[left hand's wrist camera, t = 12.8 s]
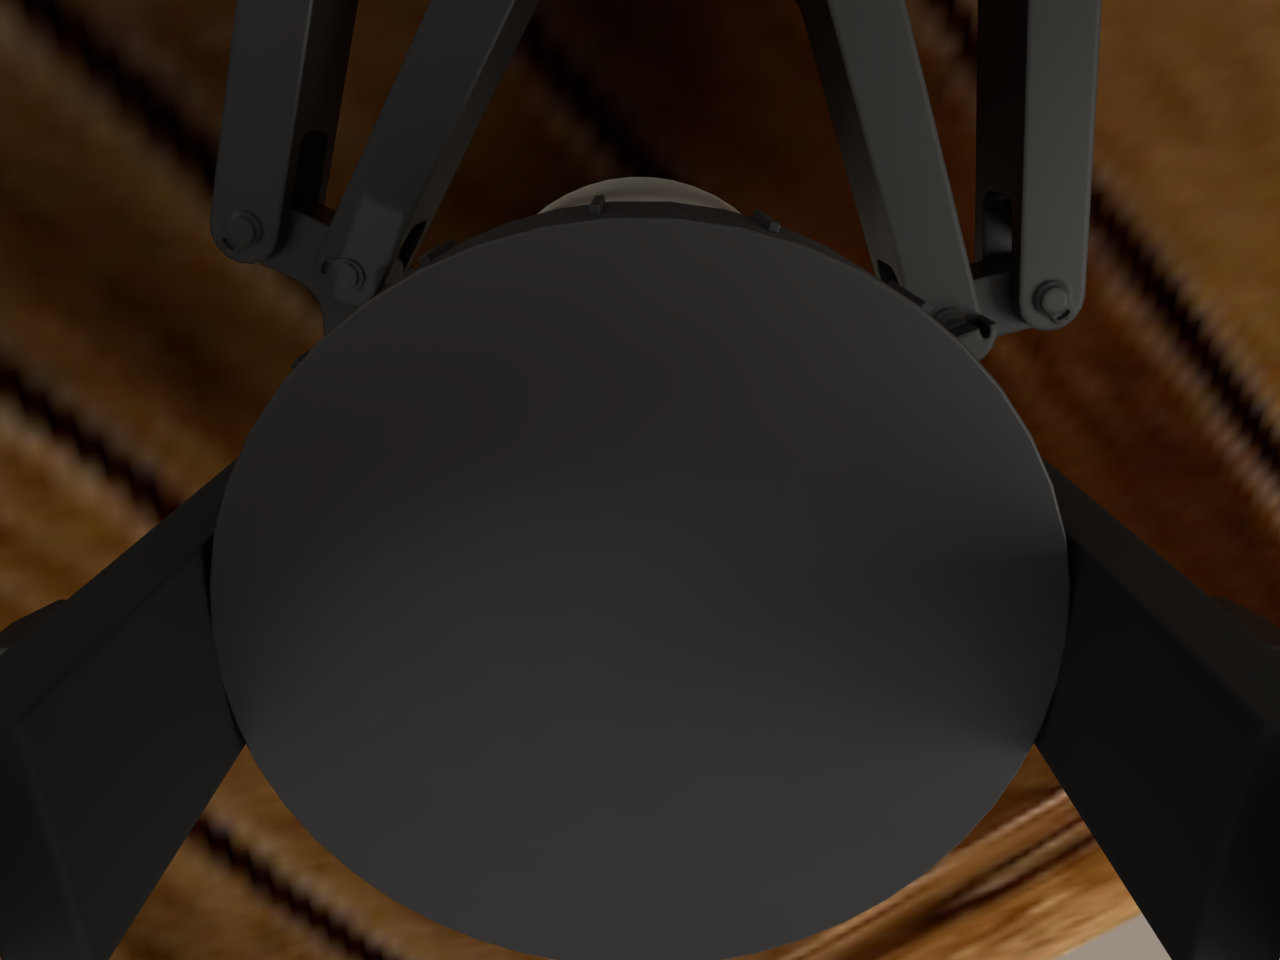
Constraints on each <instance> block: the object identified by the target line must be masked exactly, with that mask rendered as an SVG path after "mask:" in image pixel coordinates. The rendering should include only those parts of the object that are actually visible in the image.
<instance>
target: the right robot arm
mask: <svg viewBox="0 0 1280 960" xmlns="http://www.w3.org/2000/svg"><path fill="white" fill-rule="evenodd" d="M795 1H796V3H797V4H798V6H799V8H800V10H801V13H802V16H803V19H804V23H805V26H806V30H807V34H808V37H809V41H810V44H811V48H812V51H813V55H814V58H815V62H816V65H817V69H818V73H819V76H820V80H821V83H822V87H823V90H824V94H825V97H826V101H827V105H828V108H829V112H830V115H831V119H832V122H833V126H834V129H835V133H836V136H837V140H838V144H839V147H840V151H841V154H842V158H843V161H844V165H845V168H846V172H847V175H848V179H849V183H850V186H851V190H852V193H853V197H854V200H855V204H856V207H857V211H858V214H859V218H860V222H861V225H862V229H863V232H864V236H865V239H866V243H867V246H868V250H869V254H870V257H871V261H872V264H873V268H874V271H875V275H876V277H877V278H878V279H880V280H881V281H883V282H884V283H886V284H888V283H889V282H890V281H891V280H892V281H894V282H895V283H897V284H898V285H900V286H902V287H903V288H905V289H906V290H908V291H910V292H911V293H913V294H914V295H916V296H918V297H919V298H921V299H923V300H924V301H926V302H927V303H928V304H929V305H931V306H932V307H933V308H932V310H931V311H930V312H929V313H928V314H930V315H931V316H932V317H933V318H934V319H935V320H937V321H938V322H939V323H940V324H941V325H943V326H944V327H945V328H946V329H947V330H948V331H950V332H951V333H952V334H953V335H954V336H955V337H957V338H958V339H959V340H960V341H961V342H963V343H964V345H965V346H966V347H967V348H968V349H969V350H970V351H971V353H972V354H973V355H974V356H975V357H976V358H977V359H978V361H980V360H981V359H983V358H984V357H985V356H986V354H987V353H988V352H989V351H990V350H991V349H992V347H993V344H994V341H995V339H996V337H998V336H1002V335H1006V334H1010V333H1013V332H1017V331H1021V330H1025V329H1029V328H1033V327H1034V328H1036V329H1037V330H1045V331H1052V330H1056V329H1059V328H1062V327H1064V326H1065V325H1067V324H1068V323H1069V322H1071V321H1072V320H1073V319H1075V317H1076V316H1077V314H1078V313H1079V311H1080V310H1081V308H1082V305H1083V301H1084V298H1085V288H1086V271H1087V253H1088V235H1089V218H1090V200H1091V183H1092V165H1093V147H1094V130H1095V112H1096V94H1097V77H1098V59H1099V42H1100V24H1101V6H1102V0H978V32H977V119H976V207H975V263H971V264H969V261H968V257H967V253H966V249H965V245H964V241H963V237H962V232H961V228H960V224H959V220H958V216H957V212H956V208H955V204H954V199H953V195H952V191H951V187H950V183H949V179H948V175H947V171H946V166H945V162H944V158H943V154H942V150H941V146H940V142H939V138H938V134H937V129H936V125H935V121H934V117H933V113H932V109H931V105H930V101H929V96H928V92H927V88H926V84H925V80H924V76H923V72H922V68H921V63H920V59H919V55H918V51H917V47H916V43H915V39H914V35H913V31H912V26H911V22H910V18H909V14H908V10H907V6H906V2H905V0H795ZM538 2H539V0H431V1H430V3H429V5H428V8H427V10H426V12H425V14H424V17H423V19H422V21H421V23H420V26H419V28H418V30H417V32H416V35H415V37H414V39H413V41H412V43H411V46H410V48H409V50H408V52H407V55H406V57H405V59H404V61H403V64H402V66H401V68H400V70H399V72H398V75H397V77H396V79H395V81H394V84H393V86H392V88H391V90H390V93H389V95H388V97H387V99H386V101H385V104H384V106H383V108H382V110H381V113H380V115H379V117H378V119H377V122H376V124H375V126H374V128H373V130H372V133H371V135H370V137H369V139H368V142H367V144H366V146H365V148H364V151H363V153H362V155H361V157H360V160H359V162H358V164H357V166H356V168H355V171H354V173H353V175H352V177H351V180H350V182H349V184H348V186H347V189H346V191H345V193H344V195H343V197H342V200H341V202H340V204H339V206H338V209H337V211H334V210H332V209H330V208H328V207H326V206H324V204H325V197H326V191H327V185H328V179H329V173H330V167H331V161H332V155H333V149H334V143H335V137H336V131H337V125H338V119H339V113H340V107H341V101H342V95H343V89H344V83H345V77H346V71H347V65H348V59H349V53H350V47H351V41H352V35H353V29H354V23H355V17H356V11H357V5H358V0H237V1H236V9H235V17H234V25H233V34H232V42H231V50H230V58H229V67H228V75H227V83H226V91H225V100H224V108H223V116H222V124H221V132H220V141H219V149H218V157H217V165H216V174H215V182H214V190H213V198H212V207H211V215H210V229H211V235H212V237H213V239H214V241H215V243H216V246H217V247H218V248H219V249H220V250H221V251H222V252H223V253H224V254H225V255H226V256H227V257H229V258H231V259H233V260H235V261H237V262H239V263H247V264H254V263H257V262H258V263H260V264H262V265H265V266H267V267H269V268H271V269H274V270H276V271H278V272H281V273H283V274H285V275H287V276H290V277H292V278H294V279H296V280H298V281H299V282H301V283H303V284H304V285H305V286H306V287H307V288H308V289H309V290H311V291H312V293H313V294H314V296H315V297H316V298H317V300H318V302H319V304H320V307H321V309H322V314H323V320H324V336H325V335H326V334H327V333H329V332H330V331H331V330H332V329H333V328H335V327H336V326H337V325H338V324H339V323H341V322H342V321H343V320H344V319H345V318H347V317H348V316H349V315H350V314H351V313H353V312H354V311H355V310H356V309H357V308H359V307H360V306H361V305H362V304H363V303H365V302H366V301H367V300H369V299H370V298H372V297H374V296H375V295H377V294H378V293H380V292H381V291H383V290H384V289H386V288H387V287H389V286H390V285H392V284H393V283H395V282H396V281H398V280H400V279H401V278H403V277H404V276H406V275H407V274H409V273H410V272H411V271H412V270H413V269H414V268H415V266H413V265H412V264H411V263H412V261H413V259H414V257H415V255H416V252H417V250H418V248H419V246H420V244H421V242H422V240H423V238H424V236H425V234H426V232H427V230H428V228H429V226H430V224H431V222H432V220H433V218H434V216H435V213H436V211H437V209H438V207H439V205H440V203H441V201H442V199H443V197H444V195H445V193H446V191H447V189H448V187H449V185H450V183H451V181H452V179H453V177H454V175H455V172H456V170H457V168H458V166H459V164H460V162H461V160H462V158H463V156H464V154H465V152H466V150H467V148H468V146H469V144H470V142H471V140H472V138H473V136H474V134H475V131H476V129H477V127H478V125H479V123H480V121H481V119H482V117H483V115H484V113H485V111H486V109H487V107H488V105H489V103H490V101H491V99H492V97H493V95H494V92H495V90H496V88H497V86H498V84H499V82H500V80H501V78H502V76H503V74H504V72H505V70H506V68H507V66H508V64H509V62H510V60H511V58H512V56H513V54H514V51H515V49H516V47H517V45H518V43H519V41H520V39H521V37H522V35H523V33H524V31H525V29H526V27H527V25H528V23H529V21H530V19H531V17H532V15H533V12H534V10H535V8H536V6H537V4H538Z"/></svg>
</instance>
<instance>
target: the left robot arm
mask: <svg viewBox="0 0 1280 960" xmlns="http://www.w3.org/2000/svg"><path fill="white" fill-rule="evenodd" d="M1041 458H1042V457H1041ZM237 459H238V458H237ZM237 459H236V460H235V461H233V462H232V463H231V464H230V465H229V466H227V467H226V468H225V469H224V470H223V471H221V472H220V473H219V474H218V475H217V476H215V477H214V478H213V479H212V480H211V481H209V482H208V483H207V484H206V485H205V486H203V487H202V488H201V489H200V490H199V491H197V492H196V493H195V494H194V495H193V496H191V497H190V498H189V499H188V500H187V501H185V502H184V503H183V504H182V505H181V506H179V507H178V508H177V509H176V510H175V511H173V512H172V513H171V514H170V515H169V516H167V517H166V518H165V519H164V520H163V521H161V522H160V523H159V524H158V525H157V526H155V527H154V528H153V529H152V530H151V531H149V532H148V533H147V534H146V535H145V536H143V537H142V538H141V539H140V540H139V541H137V542H136V543H135V544H134V545H133V546H131V547H130V548H129V549H128V550H127V551H125V552H124V553H123V554H122V555H121V556H119V557H118V558H117V559H116V560H115V561H113V562H112V563H111V564H110V565H108V566H107V567H106V568H105V569H104V570H102V571H101V572H100V573H99V574H98V575H96V576H95V577H94V578H93V579H92V580H90V581H89V582H88V583H87V584H86V585H84V586H83V587H82V588H81V589H80V590H78V591H77V592H76V593H75V594H74V595H72V596H71V597H70V598H69V599H68V600H58V601H56V602H54V603H52V604H50V605H48V606H46V607H43V608H41V609H39V610H37V611H35V612H33V613H31V614H29V615H27V616H25V617H23V618H21V619H19V620H17V621H15V622H13V623H11V624H10V625H9V626H8V627H6V628H5V629H4V630H3V631H1V632H0V957H1V960H109V958H110V957H111V955H112V954H113V952H114V950H115V949H116V947H117V946H118V944H119V942H120V941H121V939H122V938H123V936H124V935H125V933H126V931H127V930H128V928H129V927H130V925H131V924H132V922H133V920H134V919H135V917H136V916H137V914H138V913H139V911H140V909H141V908H142V906H143V905H144V903H145V902H146V900H147V898H148V897H149V895H150V894H151V892H152V891H153V889H154V887H155V886H156V884H157V883H158V881H159V880H160V878H161V876H162V875H163V873H164V872H165V870H166V868H167V867H168V865H169V864H170V862H171V861H172V859H173V857H174V856H175V854H176V853H177V851H178V850H179V848H180V846H181V845H182V843H183V842H184V840H185V839H186V837H187V835H188V834H189V832H190V831H191V829H192V828H193V826H194V824H195V823H196V821H197V820H198V818H199V817H200V815H201V813H202V812H203V810H204V809H205V807H206V806H207V804H208V802H209V801H210V799H211V798H212V796H213V794H214V793H215V791H216V790H217V788H218V787H219V785H220V783H221V782H222V780H223V779H224V777H225V776H226V774H227V772H228V771H229V769H230V768H231V766H232V765H233V763H234V761H235V760H236V758H237V757H238V755H239V754H240V752H241V750H242V749H243V747H244V746H245V744H246V742H245V740H244V738H243V736H242V735H241V733H240V731H239V729H238V727H237V725H236V722H235V719H234V716H233V714H232V711H231V708H230V705H229V702H228V699H227V697H226V694H225V691H224V688H223V684H222V679H221V674H220V669H219V664H218V659H217V654H216V649H215V645H214V640H213V635H212V629H211V618H210V596H209V576H210V567H211V558H212V548H213V539H214V530H215V527H216V523H217V519H218V516H219V512H220V508H221V504H222V501H223V497H224V493H225V490H226V486H227V482H228V479H229V477H230V475H231V473H232V470H233V468H234V466H235V464H236V461H237ZM1042 460H1043V462H1044V465H1045V467H1046V469H1047V472H1048V474H1049V476H1050V479H1051V481H1052V483H1053V487H1054V491H1055V495H1056V498H1057V502H1058V506H1059V510H1060V514H1061V518H1062V522H1063V526H1064V530H1065V533H1066V543H1067V553H1068V563H1069V574H1070V584H1071V588H1070V606H1069V623H1068V634H1067V639H1066V644H1065V649H1064V654H1063V659H1062V664H1061V669H1060V674H1059V679H1058V683H1057V687H1056V689H1055V692H1054V695H1053V698H1052V700H1051V703H1050V706H1049V709H1048V711H1047V714H1046V717H1045V720H1044V722H1043V725H1042V728H1041V730H1040V732H1039V733H1038V735H1037V737H1036V739H1035V741H1034V743H1035V745H1036V747H1037V748H1038V750H1039V751H1040V753H1041V754H1042V756H1043V758H1044V759H1045V761H1046V762H1047V764H1048V765H1049V767H1050V769H1051V770H1052V772H1053V773H1054V775H1055V776H1056V778H1057V780H1058V781H1059V783H1060V784H1061V786H1062V787H1063V789H1064V791H1065V792H1066V794H1067V795H1068V797H1069V798H1070V800H1071V802H1072V803H1073V805H1074V806H1075V808H1076V809H1077V811H1078V813H1079V814H1080V816H1081V817H1082V819H1083V820H1084V822H1085V824H1086V825H1087V827H1088V828H1089V830H1090V832H1091V833H1092V835H1093V836H1094V838H1095V839H1096V841H1097V843H1098V844H1099V846H1100V847H1101V849H1102V850H1103V852H1104V854H1105V855H1106V857H1107V858H1108V860H1109V861H1110V863H1111V865H1112V866H1113V868H1114V869H1115V871H1116V872H1117V874H1118V876H1119V877H1120V879H1121V880H1122V882H1123V883H1124V885H1125V887H1126V888H1127V890H1128V891H1129V893H1130V894H1131V896H1132V898H1133V899H1134V901H1135V902H1136V904H1137V906H1138V907H1139V909H1140V910H1141V912H1142V913H1143V915H1144V917H1145V918H1146V920H1147V921H1148V923H1149V924H1150V926H1151V928H1152V929H1153V931H1154V932H1155V934H1156V935H1157V937H1158V939H1159V940H1160V942H1161V943H1162V945H1163V946H1164V948H1165V950H1166V951H1167V953H1168V954H1169V956H1170V957H1171V959H1172V960H1279V958H1280V628H1279V627H1278V626H1277V625H1276V624H1274V623H1273V622H1272V621H1270V620H1269V619H1267V618H1265V617H1263V616H1261V615H1259V614H1257V613H1255V612H1253V611H1251V610H1249V609H1246V608H1244V607H1242V606H1240V605H1238V604H1236V603H1234V602H1232V601H1230V600H1228V599H1226V598H1224V597H1209V596H1208V595H1207V594H1206V593H1204V592H1203V591H1202V590H1201V589H1200V588H1198V587H1197V586H1196V585H1195V584H1194V583H1192V582H1191V581H1190V580H1189V579H1188V578H1186V577H1185V576H1184V575H1183V574H1182V573H1180V572H1179V571H1178V570H1177V569H1176V568H1174V567H1173V566H1172V565H1171V564H1170V563H1168V562H1167V561H1166V560H1165V559H1164V558H1162V557H1161V556H1160V555H1159V554H1158V553H1156V552H1155V551H1154V550H1153V549H1152V548H1150V547H1149V546H1148V545H1147V544H1146V543H1144V542H1143V541H1142V540H1141V539H1140V538H1138V537H1137V536H1136V535H1135V534H1134V533H1132V532H1131V531H1130V530H1129V529H1128V528H1126V527H1125V526H1124V525H1123V524H1122V523H1120V522H1119V521H1118V520H1117V519H1116V518H1114V517H1113V516H1112V515H1111V514H1110V513H1108V512H1107V511H1106V510H1105V509H1104V508H1102V507H1101V506H1100V505H1099V504H1098V503H1096V502H1095V501H1094V500H1093V499H1092V498H1090V497H1089V496H1088V495H1087V494H1086V493H1084V492H1083V491H1082V490H1081V489H1080V488H1078V487H1077V486H1076V485H1075V484H1073V483H1072V482H1071V481H1070V480H1069V479H1067V478H1066V477H1065V476H1064V475H1063V474H1061V473H1060V472H1059V471H1058V470H1057V469H1055V468H1054V467H1053V466H1052V465H1051V464H1049V463H1048V462H1047V461H1046V460H1045V459H1043V458H1042Z"/></svg>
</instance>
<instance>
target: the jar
mask: <svg viewBox="0 0 1280 960" xmlns="http://www.w3.org/2000/svg"><path fill="white" fill-rule="evenodd" d="M596 195H604V196H605V202H611V201H670V202H677V203H684V204H691V205H698V206H705V207H712V208H719V209H726V210H729V211H733V212H736V213H740V212H738V211H737V210H736V209H735V208H734V207H732V206H731V205H729V204H727V203H726V202H724V201H723V200H721V199H719V198H718V197H716V196H715V195H712V194H710V193H708V192H706V191H703V190H701V189H699V188H697V187H694V186H691V185H688V184H684V183H681V182H677V181H674V180H668V179H661V178H654V177H625V178H618V179H610V180H605V181H602V182H598V183H594V184H591V185H587V186H584V187H582V188H580V189H577V190H575V191H573V192H571V193H568V194H566V195H564V196H563V197H561V198H559V199H558V200H556V201H554V202H553V203H551V204H549V205H548V206H546V207H545V208H544V209H543V210H541V211H540V212H539V213H538V214H540V213H544V212H548V211H551V210H555V209H558V208H566V207H573V206H581V205H589V204H590V203H591V202H592V200H593V198H594V197H595V196H596ZM740 214H741V213H740Z"/></svg>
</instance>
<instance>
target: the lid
mask: <svg viewBox="0 0 1280 960" xmlns="http://www.w3.org/2000/svg"><path fill="white" fill-rule="evenodd" d="M418 261H419V263H420V265H421V266H420V267H418V268H417V269H415V270H413V271H412V272H410V273H409V274H407V275H406V276H404V277H403V278H401V279H400V280H398V281H396V282H395V283H393V284H392V285H390V286H389V287H387V288H386V289H384V290H383V291H381V292H380V293H378V294H377V295H375V296H374V297H372V298H370V299H369V300H367V301H366V302H365V303H363V304H362V305H361V306H360V307H359V308H357V309H356V310H355V311H354V312H353V313H351V314H350V315H349V316H348V317H347V318H345V319H344V320H343V321H342V322H341V323H339V324H338V325H337V326H336V327H335V328H333V329H332V330H331V331H330V332H329V333H327V334H326V335H325V336H324V337H323V338H321V339H320V340H319V341H318V342H317V343H316V345H315V346H314V347H313V348H312V349H310V350H309V351H307V352H306V353H305V354H303V355H302V356H300V357H299V358H297V359H296V360H295V361H294V362H293V364H292V365H291V367H292V368H293V370H292V372H291V373H290V374H289V375H288V376H287V377H286V378H285V379H284V381H283V382H282V383H281V384H280V385H279V387H278V389H277V390H276V392H275V393H274V395H273V396H272V398H271V399H270V401H269V402H268V404H267V406H266V407H265V409H264V410H263V412H262V413H261V415H260V416H259V418H258V419H257V421H256V423H255V424H254V426H253V427H252V429H251V430H250V432H249V434H248V437H247V439H246V441H245V443H244V446H243V448H242V450H241V452H240V455H239V457H238V459H237V461H236V464H235V466H234V468H233V470H232V473H231V475H230V477H229V479H228V482H227V486H226V490H225V493H224V497H223V501H222V504H221V508H220V512H219V516H218V519H217V523H216V527H215V530H214V539H213V548H212V558H211V567H210V576H209V596H210V618H211V629H212V635H213V640H214V645H215V649H216V654H217V659H218V664H219V669H220V674H221V679H222V684H223V688H224V691H225V694H226V697H227V699H228V702H229V705H230V708H231V711H232V714H233V716H234V719H235V722H236V725H237V727H238V729H239V731H240V733H241V735H242V736H243V738H244V740H245V742H246V744H247V746H248V748H249V750H250V752H251V754H252V756H253V758H254V760H255V762H256V763H257V765H258V767H259V769H260V770H261V772H262V773H263V774H264V776H265V777H266V779H267V780H268V782H269V783H270V784H271V786H272V787H273V789H274V790H275V792H276V793H277V795H278V796H279V797H280V799H281V800H282V802H283V803H284V805H285V806H286V807H287V808H288V809H289V810H290V811H291V813H292V814H293V815H294V816H295V817H296V818H297V819H298V820H299V821H300V823H301V824H302V825H303V826H304V827H305V828H306V829H307V830H308V831H309V833H310V834H311V835H312V836H313V837H314V838H315V839H316V840H317V841H318V842H319V843H320V844H321V845H322V846H323V847H325V848H326V849H327V850H328V851H329V852H330V853H331V854H333V855H334V856H335V857H336V858H337V859H338V860H340V861H341V862H342V863H343V864H344V865H345V866H346V867H348V868H349V869H350V870H351V871H352V872H353V873H355V874H356V875H358V876H359V877H361V878H362V879H364V880H365V881H366V882H368V883H369V884H371V885H372V886H374V887H375V888H377V889H378V890H379V891H381V892H382V893H384V894H385V895H387V896H388V897H390V898H391V899H393V900H395V901H397V902H398V903H400V904H402V905H404V906H406V907H408V908H409V909H411V910H413V911H415V912H417V913H419V914H421V915H422V916H424V917H426V918H428V919H430V920H432V921H434V922H436V923H439V924H441V925H443V926H446V927H448V928H451V929H453V930H455V931H458V932H460V933H463V934H465V935H467V936H470V937H472V938H475V939H478V940H481V941H484V942H487V943H491V944H494V945H497V946H501V947H504V948H507V949H511V950H514V951H517V952H521V953H525V954H531V955H536V956H541V957H546V958H551V959H556V960H723V959H728V958H733V957H738V956H744V955H749V954H754V953H758V952H761V951H765V950H768V949H771V948H775V947H778V946H782V945H785V944H788V943H792V942H795V941H799V940H802V939H804V938H806V937H809V936H811V935H814V934H816V933H819V932H821V931H824V930H826V929H829V928H831V927H833V926H836V925H838V924H841V923H843V922H845V921H847V920H849V919H851V918H853V917H855V916H857V915H858V914H860V913H862V912H864V911H866V910H868V909H870V908H872V907H873V906H875V905H877V904H879V903H881V902H883V901H885V900H886V899H888V898H889V897H891V896H892V895H894V894H895V893H897V892H898V891H900V890H901V889H902V888H904V887H905V886H907V885H908V884H910V883H911V882H913V881H914V880H916V879H917V878H919V877H920V876H922V875H923V874H924V873H926V872H927V871H928V870H929V869H930V868H931V867H933V866H934V865H935V864H936V863H937V862H938V861H940V860H941V859H942V858H943V857H944V856H945V855H947V854H948V853H949V852H950V851H951V850H952V849H954V848H955V847H956V846H957V845H958V844H959V843H960V842H961V841H962V840H963V839H964V838H965V837H966V836H967V835H968V834H969V833H970V832H971V830H972V829H973V828H974V827H975V826H976V825H977V824H978V823H979V822H980V821H981V820H982V818H983V817H984V816H985V815H986V814H987V813H988V812H989V811H990V810H991V809H992V807H993V806H994V805H995V803H996V802H997V800H998V799H999V798H1000V796H1001V795H1002V793H1003V792H1004V790H1005V789H1006V788H1007V786H1008V785H1009V783H1010V782H1011V781H1012V779H1013V778H1014V776H1015V775H1016V774H1017V772H1018V771H1019V769H1020V767H1021V766H1022V764H1023V762H1024V760H1025V758H1026V756H1027V754H1028V752H1029V750H1030V749H1031V747H1032V745H1033V743H1034V741H1035V739H1036V737H1037V735H1038V733H1039V732H1040V730H1041V728H1042V725H1043V722H1044V720H1045V717H1046V714H1047V711H1048V709H1049V706H1050V703H1051V700H1052V698H1053V695H1054V692H1055V689H1056V687H1057V683H1058V679H1059V674H1060V669H1061V664H1062V659H1063V654H1064V649H1065V644H1066V639H1067V634H1068V623H1069V606H1070V588H1071V584H1070V574H1069V563H1068V553H1067V543H1066V533H1065V530H1064V526H1063V522H1062V518H1061V514H1060V510H1059V506H1058V502H1057V498H1056V495H1055V491H1054V487H1053V483H1052V481H1051V479H1050V476H1049V474H1048V472H1047V469H1046V467H1045V465H1044V462H1043V460H1042V458H1041V456H1040V453H1039V451H1038V449H1037V446H1036V444H1035V442H1034V439H1033V437H1032V435H1031V433H1030V431H1029V430H1028V428H1027V427H1026V425H1025V423H1024V422H1023V420H1022V419H1021V417H1020V416H1019V414H1018V412H1017V411H1016V409H1015V408H1014V406H1013V405H1012V403H1011V401H1010V400H1009V398H1008V397H1007V395H1006V393H1005V392H1004V390H1003V389H1002V387H1001V386H1000V385H999V384H998V382H997V381H996V380H995V379H994V378H993V377H992V376H991V374H990V373H989V372H988V371H987V370H986V369H985V368H984V366H983V365H982V364H981V363H980V362H979V361H978V359H977V358H976V357H975V356H974V355H973V354H972V353H971V351H970V350H969V349H968V348H967V347H966V346H965V345H964V343H963V342H961V341H960V340H959V339H958V338H957V337H955V336H954V335H953V334H952V333H951V332H950V331H948V330H947V329H946V328H945V327H944V326H943V325H941V324H940V323H939V322H938V321H937V320H935V319H934V318H933V317H932V316H931V315H930V314H928V313H929V312H930V311H931V310H932V308H933V307H932V306H931V305H929V304H928V303H927V302H926V301H924V300H923V299H921V298H919V297H918V296H916V295H914V294H913V293H911V292H910V291H908V290H906V289H905V288H903V287H902V286H900V285H898V284H897V283H895V282H894V281H892V280H891V281H890V282H889V283H888V284H886V283H884V282H883V281H881V280H880V279H878V278H877V277H875V276H874V275H872V274H870V273H869V272H867V271H866V270H864V269H862V268H861V267H859V266H858V265H856V264H854V263H853V262H851V261H850V260H848V259H846V258H845V257H843V256H842V255H840V254H838V253H837V252H835V251H834V250H832V249H831V248H829V247H827V246H825V245H823V244H821V243H818V242H816V241H814V240H812V239H809V238H807V237H805V236H803V235H800V234H798V233H796V232H794V231H791V230H789V229H787V228H785V227H782V226H781V225H780V224H779V223H778V222H776V221H775V220H774V219H772V218H771V217H769V216H768V215H767V214H765V213H764V212H762V211H759V210H754V213H753V216H752V217H750V216H747V215H743V214H740V213H736V212H733V211H729V210H726V209H719V208H712V207H705V206H698V205H691V204H684V203H677V202H670V201H611V202H605V196H604V195H596V196H595V197H594V198H593V200H592V202H591V203H590V204H589V205H581V206H573V207H566V208H558V209H555V210H551V211H548V212H544V213H540V214H537V215H533V216H529V217H526V218H522V219H519V220H515V221H511V222H508V223H505V224H502V225H500V226H498V227H495V228H493V229H491V230H488V231H486V232H484V233H481V234H479V235H477V236H475V237H472V238H470V239H468V240H465V241H463V242H461V243H458V244H455V242H454V240H453V239H450V240H448V241H446V242H444V243H443V244H441V245H439V246H438V247H436V248H434V249H433V250H431V251H429V252H428V253H426V254H425V255H423V256H421V257H420V258H418Z"/></svg>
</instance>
